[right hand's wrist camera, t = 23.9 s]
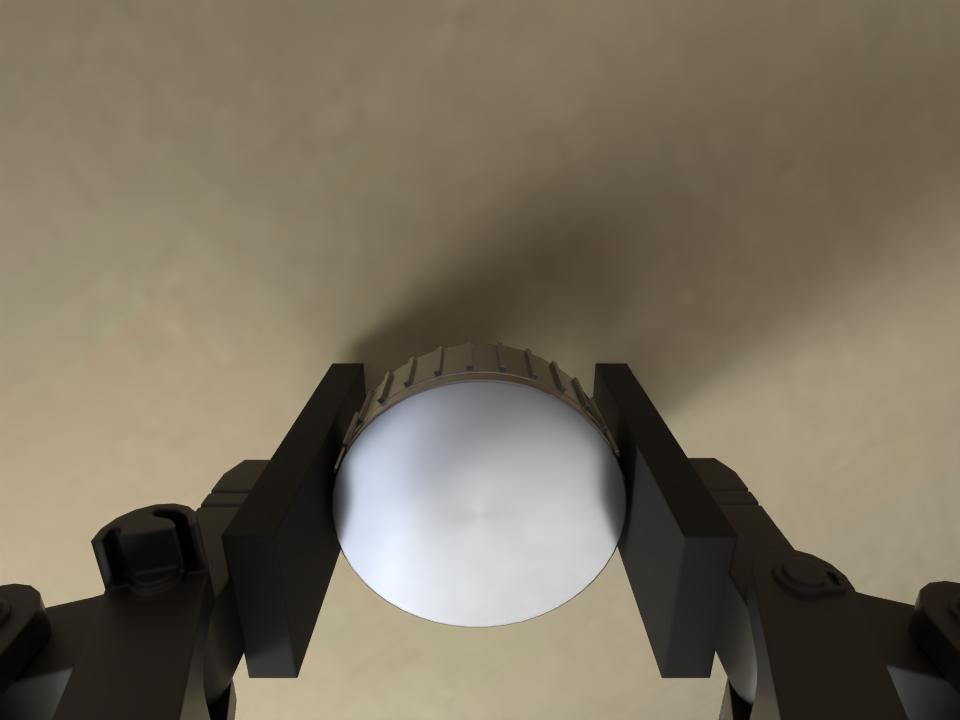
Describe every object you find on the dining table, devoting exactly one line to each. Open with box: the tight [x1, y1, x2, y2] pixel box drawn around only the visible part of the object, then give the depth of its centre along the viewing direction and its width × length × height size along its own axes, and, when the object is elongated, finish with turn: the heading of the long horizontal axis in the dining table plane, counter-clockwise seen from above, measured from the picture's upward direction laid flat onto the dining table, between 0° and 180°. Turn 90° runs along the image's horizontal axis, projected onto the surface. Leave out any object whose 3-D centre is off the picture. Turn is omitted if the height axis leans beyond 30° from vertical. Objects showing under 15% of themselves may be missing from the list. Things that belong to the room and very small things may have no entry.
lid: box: [331, 341, 627, 627], centre depth 12 cm, size 6×6×2 cm
